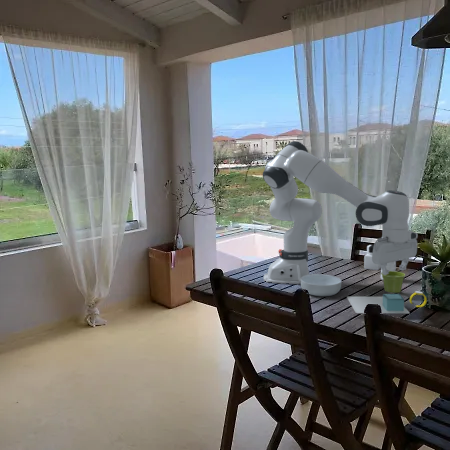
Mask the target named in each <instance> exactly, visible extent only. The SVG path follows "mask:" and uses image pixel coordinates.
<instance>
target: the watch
mask: <svg viewBox="0 0 450 450" xmlns="http://www.w3.org/2000/svg"><path fill="white" fill-rule="evenodd" d="M417 295H418V296H423V298H424V299H423V300H424V301H423V303H422V304H420V305H417V304H416V305H415V307H416V308H423V307H425V305H427V301H428V300H427V299H428V298H427V296H426V295H425V294H424V293H423V292H422V291H419V290H415V291H414V292H413V293H412V294H411V295H410V296H409V303H410V304H411V305H412V304H413V298H414V297H415V296H417Z"/></svg>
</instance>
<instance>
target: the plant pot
mask: <svg viewBox="0 0 450 450" xmlns="http://www.w3.org/2000/svg"><path fill="white" fill-rule="evenodd" d="M381 275H382V277H383V280H382V281H383V288H384V291H385V292H387V293H390V294H399V293H401V292H402V288H403V281H404V278H405V277H406V273H404V272H401V271H396V270H395V271H389V274H387V275H383V274H382V273H381V272H380V276H381Z"/></svg>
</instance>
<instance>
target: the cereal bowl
mask: <svg viewBox="0 0 450 450" xmlns="http://www.w3.org/2000/svg"><path fill="white" fill-rule="evenodd" d="M300 286H301V288H302V290H303V289H306V290H308V292H309V294H308V295H311V296H314V297H329V296H335V295H336V294H337V293H339V292H340V290H341V289H342V279H341V278H340V277H339V276H335V275H331V274H321V273H314V274H313V273H312V274H309V275H306V276H303V277H302V278H301V283H300Z"/></svg>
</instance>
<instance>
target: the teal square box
mask: <svg viewBox="0 0 450 450" xmlns="http://www.w3.org/2000/svg"><path fill="white" fill-rule="evenodd" d="M382 297H383V307H384V308H385V309H386V310H387V311H404V307H405V298H404V297H403V296H402V295H401V294H400V293H383V294H382Z"/></svg>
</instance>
